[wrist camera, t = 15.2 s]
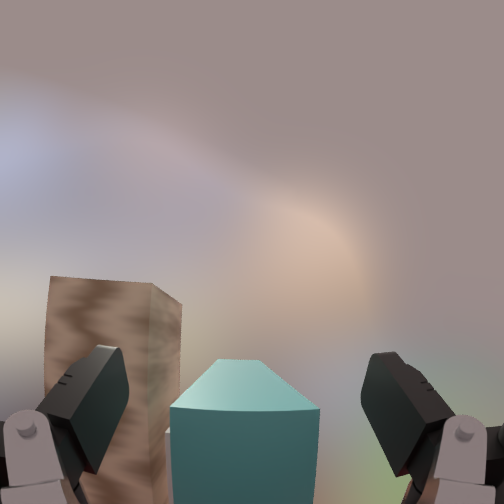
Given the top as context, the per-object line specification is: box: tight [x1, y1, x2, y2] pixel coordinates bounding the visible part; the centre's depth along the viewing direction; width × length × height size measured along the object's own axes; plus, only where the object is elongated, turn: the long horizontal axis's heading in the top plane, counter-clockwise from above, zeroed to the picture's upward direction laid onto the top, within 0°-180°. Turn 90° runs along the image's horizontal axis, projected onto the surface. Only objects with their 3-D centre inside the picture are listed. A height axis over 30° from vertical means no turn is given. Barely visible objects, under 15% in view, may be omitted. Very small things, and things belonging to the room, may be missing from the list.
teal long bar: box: [170, 359, 320, 504], centre depth 17 cm, size 4×22×4 cm, turn 3°
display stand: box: [44, 276, 182, 504], centre depth 25 cm, size 10×14×32 cm
